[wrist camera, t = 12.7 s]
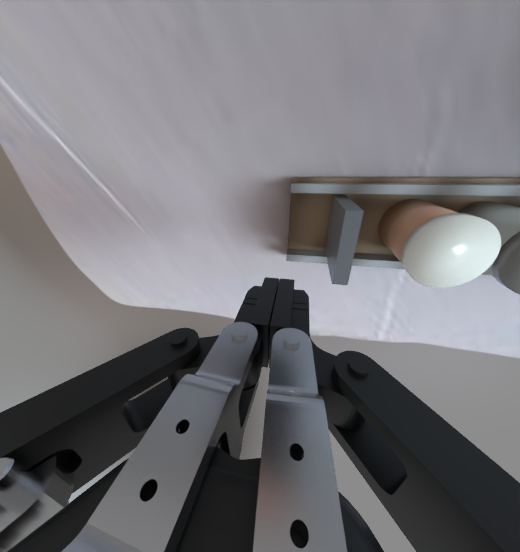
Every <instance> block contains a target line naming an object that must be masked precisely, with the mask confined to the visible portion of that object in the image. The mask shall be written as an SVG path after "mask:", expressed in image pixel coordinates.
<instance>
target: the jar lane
mask: <svg viewBox="0 0 520 552" xmlns="http://www.w3.org/2000/svg"><path fill="white" fill-rule="evenodd" d="M290 193H291V206H290V223H289V241H288V251H287V261H297V262H311V263H326V264H328V261H327V256H326V252H325V246H326V239H327V232H328V225H329V219H330V212H331V205H332V199H333V195H346V196H347V197H349V198H350V199H351V200H352V201H353V202H354V203H355V204H356V205H358V206H359V207H360V208H361V209H362V210H363V211H364V213H363V217H362V222H361V226H360V230H359V235H358V239H357V244H356V248H355V253H354V257H353V262H352V265H354V266H368V267H383V268H397V269H404V267H403V265H402V263H401V262H400V261H399V259H398V258H397V257H396V256H395V255H394V254H393V253H392V252H391V251H390V250H389V248H388V247H387V246H386V245H385V244H384V243H383V242H382V241H381V239H380V237H379V234H378V226H379V222H380V220H381V218H382V216H383V214H384V213H385V212H386V211H387V210H388V209H389V208H390V207H392V206H393V205H395V204H396V203H398V202H401V201H403V200H407V199H420V200H423V201H426V202H429V203H432V204H435V205H438V206H440V207H443V208H446V209H449V210H452V211H454V212H457V211H459V210H460V209H462V208H464V207H465V206H468V205H470V204H473V203H476V202H481V201H492V202H497V203H501V204H506V205H510V206H515V207H519V208H520V178H292V183H291V188H290ZM482 274H483V275H491V274H489V273H487V272H486V271H485V272H483V273H482Z"/></svg>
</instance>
